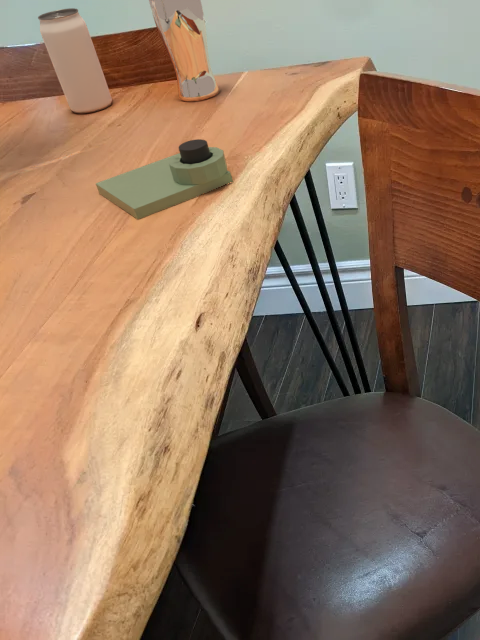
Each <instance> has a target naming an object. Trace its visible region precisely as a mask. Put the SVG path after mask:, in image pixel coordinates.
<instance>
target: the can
mask: <svg viewBox="0 0 480 640" xmlns="http://www.w3.org/2000/svg"><path fill="white" fill-rule="evenodd" d="M37 19H38V20H39V32H40V35H41V37H42V41H43V43H44V46H45V49H46V51H47V54H48V56H49V59H50V61H51V64H52V66H53V69H54V72H55V74H56V77H57V80H58V82H59V84H60V87H61V89H62V92H63V95H64V98H65V100H66V102H67V105H68V107H69V110H71V111H72V112H73V113H75V114H83V115H84V114H91V113H96V112H99V111H102V110H104V109H107V108H108V107H110V106H111V105H112V102H113V99H112V95H111V92H110V89H109V86H108V82H107V80H106V77H105V75H104V72H103V68H102V66H101V62H100V59H99V57H98V54H97V51H96V48H95V46H94V43H93V40H92V37H91V34H90V31H89V28H88V26H87V23H86V21H85V19H84V18H83V17H82V16H81V14H80V13H79V9H78V8H75V7H74V8H73V7H72V8H70V7H69V8H62V9H56V10H52V11H48V12H45V13H41V14H40V15H38V17H37Z"/></svg>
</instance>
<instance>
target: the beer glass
mask: <svg viewBox="0 0 480 640" xmlns="http://www.w3.org/2000/svg"><path fill="white" fill-rule="evenodd" d="M148 3H149V7H150V11H151V14H152V18H153V20H154V25H155V27H156V29H157V31H158V34H159V37H160V39H161V42H162V43H163V46H164V48H165V50H166V52H167V55H168V57H169V60H170V62H171V64H172V67H173V70H174V74H175V77H176V78H175V79H176V83H177V85H176V86H177V93H178V98H179V100H180V101H183V102H189V103H190V102H199V101H204V100H208V99H211V98H213V97H216V96H217V95H218V94H219V93H220V88H219V85H218V83H217V80H216V78H215V75H214V73H213V70H212V66H211V62H210V57H209V48H208V38H207V37H208V36H207V28H206V21H205V14H204V9H203V5H202V0H148Z"/></svg>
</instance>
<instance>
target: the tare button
mask: <svg viewBox="0 0 480 640" xmlns="http://www.w3.org/2000/svg"><path fill="white" fill-rule="evenodd" d="M209 147H210V146H209V144H208V141H207V140H205V139H199V138H198V139H191V140H187V141H185V142H182V143H180V144H179V146H178V151H179V153H180V155H181V158H182V161H183V164H196V163H201V162H204V161H206V160H208V159H210V158H211V155H210V151H209Z"/></svg>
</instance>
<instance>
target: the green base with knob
mask: <svg viewBox="0 0 480 640" xmlns="http://www.w3.org/2000/svg"><path fill="white" fill-rule="evenodd" d="M208 147H209V151H210V155H211V158H210V159H208V160H206V161H204V162H201V163H196V164H183V161H182V158H181V155H180V152H179V153H176V154H173V155H171V156H168V157H164V158H161V159H159V160H156V161H154V162H150V163H148V164H145V165H142V166H140V167H138V168H134V169H131V170H128V171H126V172H123V173H120V174H117V175H115V176H111V177H109V178H106V179H104V180H101V181H99V182H95V187H96V188H97V189H96V190H97V191H98V193H99V195H101V196H102V197H103V198H105V199H107V200H108V201H110V202H111V203H112V204H114V205H115V206H117V207H118V208H120V209H121V210H123V211H125V212H126V213H127V214H129V215H131V216H132V217H134V218H135V219H136V220H141V219H143V218H146V217H149V216H150V215H155V214H156V213H158V212H161V211H164V210H166V209H169V208H171V207H174V206H176V205H179V204H181V203H185V202H187V201H189V200H192V199H194V198H197V197H200V196H202V195H204V194H203V193H205V194H207V193H209V191H210V192H212V191H214V190H213V189H215V190H217V189H219V188H218V187H220V188H222V187H221V186H223V185H225V184H228V183H230V182H233V183H234V180H233V176H232V173H231V171H229V170H228V164H227V163H228V162H227V160H226V155H225V152H224V151H225V150H224V149H221V148H219V147H215V146H208ZM230 184H231V183H230ZM228 185H229V184H228ZM225 186H226V185H225ZM223 187H224V186H223ZM216 188H217V189H216ZM211 190H212V191H211ZM201 194H202V195H201ZM199 195H200V196H199ZM196 196H197V197H196Z"/></svg>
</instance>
